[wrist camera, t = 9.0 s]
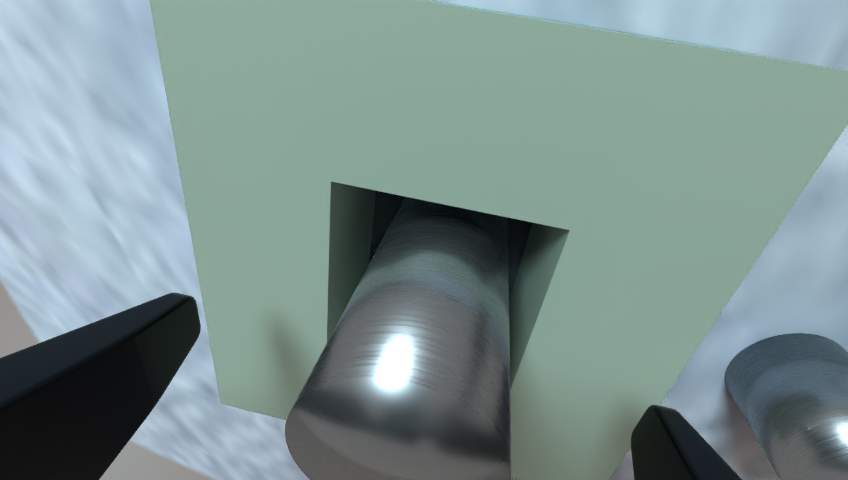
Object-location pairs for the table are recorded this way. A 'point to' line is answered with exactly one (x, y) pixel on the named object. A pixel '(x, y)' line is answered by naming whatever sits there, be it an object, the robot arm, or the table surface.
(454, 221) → the long pin
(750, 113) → the hole block
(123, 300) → the table surface
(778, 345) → the short pin
